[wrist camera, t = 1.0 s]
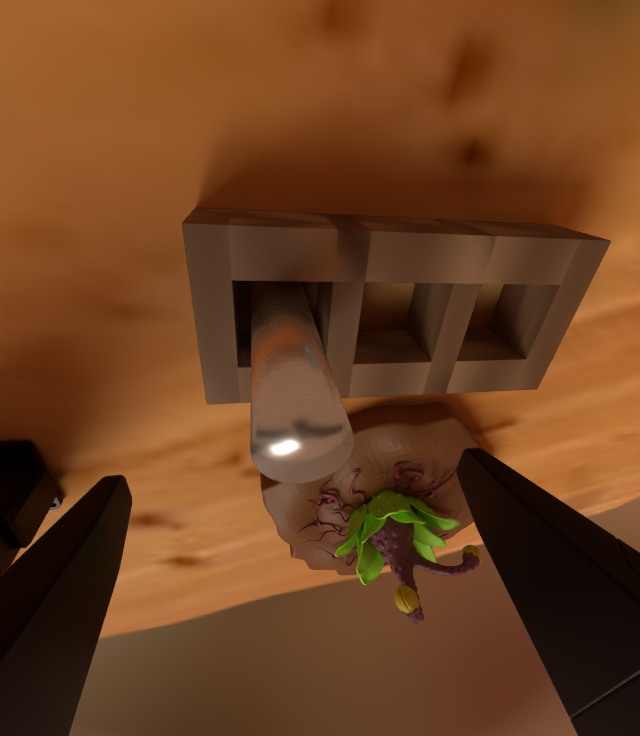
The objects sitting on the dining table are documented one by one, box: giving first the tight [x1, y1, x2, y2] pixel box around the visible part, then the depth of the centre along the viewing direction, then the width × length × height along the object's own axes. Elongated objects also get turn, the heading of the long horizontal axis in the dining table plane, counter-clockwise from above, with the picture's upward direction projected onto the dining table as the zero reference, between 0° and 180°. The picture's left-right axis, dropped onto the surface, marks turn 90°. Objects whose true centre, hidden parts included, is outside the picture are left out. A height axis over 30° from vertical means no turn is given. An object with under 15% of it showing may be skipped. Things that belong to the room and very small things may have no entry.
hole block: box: [182, 208, 611, 404], centre depth 19 cm, size 20×9×4 cm, turn 86°
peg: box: [250, 281, 354, 484], centre depth 15 cm, size 3×3×12 cm
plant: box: [260, 402, 482, 624], centre depth 27 cm, size 20×20×11 cm
